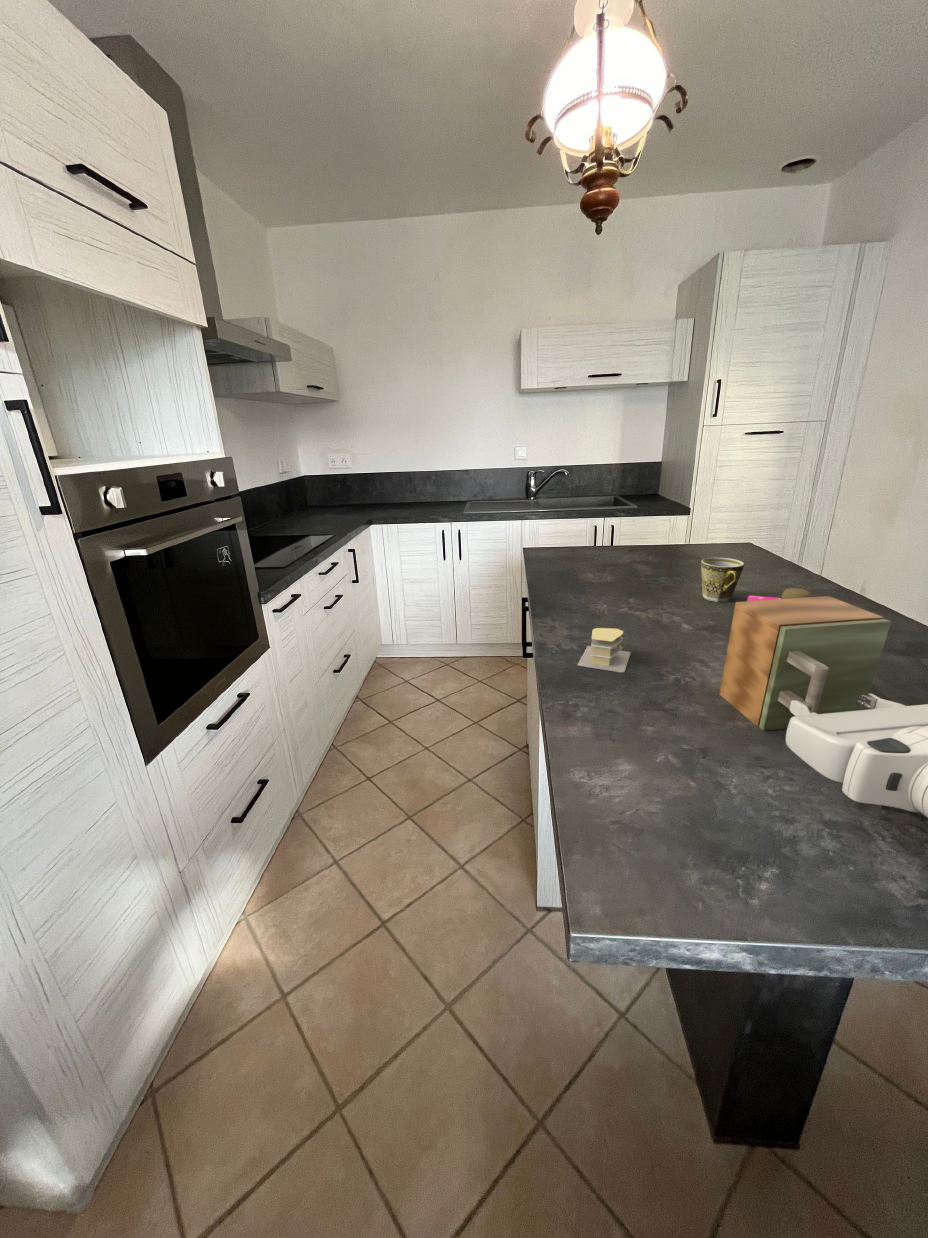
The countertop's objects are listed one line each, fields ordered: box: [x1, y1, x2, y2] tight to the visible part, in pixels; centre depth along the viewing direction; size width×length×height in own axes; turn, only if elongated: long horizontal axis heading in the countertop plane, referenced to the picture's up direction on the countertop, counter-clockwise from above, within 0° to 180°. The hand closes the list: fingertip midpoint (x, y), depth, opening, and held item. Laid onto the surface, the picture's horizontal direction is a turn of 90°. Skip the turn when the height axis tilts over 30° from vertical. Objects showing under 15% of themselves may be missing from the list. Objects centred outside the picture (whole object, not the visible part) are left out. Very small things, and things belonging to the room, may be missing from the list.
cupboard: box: [719, 595, 885, 728], centre depth 77 cm, size 10×16×17 cm, turn 96°
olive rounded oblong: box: [781, 587, 813, 599], centre depth 103 cm, size 6×6×11 cm
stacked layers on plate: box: [576, 627, 632, 673], centre depth 98 cm, size 10×9×6 cm
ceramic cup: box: [700, 557, 745, 603], centre depth 127 cm, size 13×10×10 cm
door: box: [758, 618, 892, 732], centre depth 69 cm, size 7×16×17 cm, turn 96°
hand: (829, 701), depth 64 cm, fingers open, 8 cm apart
